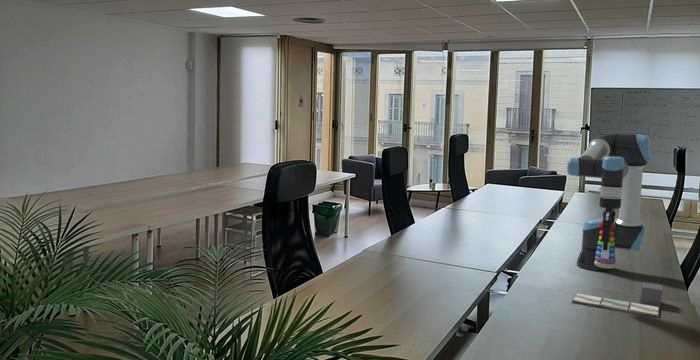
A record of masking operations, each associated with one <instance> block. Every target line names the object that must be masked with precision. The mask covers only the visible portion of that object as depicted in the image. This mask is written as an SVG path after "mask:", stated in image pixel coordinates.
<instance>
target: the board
mask: <svg viewBox="0 0 700 360" xmlns="http://www.w3.org/2000/svg"><path fill="white" fill-rule="evenodd" d="M571 301H572V302H571V303H572V304H578V305H584V306H589V307H593V308H600V309H607V310H612V311H618V312H623V313H629V314H634V313H635V315H640V314H641V316H646V315H647V316H648V317H653V318H657V319H659V318H660V307H656V306H650V305H644V304H640V303H636V302H632V301H631V302H630V301H624V300H618V299H614V298H607V297H600V296H594V295H588V294H582V293H575V295H574V297H573V299H572V300H571Z"/></svg>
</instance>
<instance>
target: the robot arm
mask: <svg viewBox="0 0 700 360" xmlns="http://www.w3.org/2000/svg"><path fill="white" fill-rule="evenodd" d="M651 160H652V142H651V139H650V136H649V135H647V134H641V133H640V134H639V133H613V132H611V133H607V134H604V135H600V136H597V137H595V138H594V139H592V140H590V142H589V143H588V145H587V148H586V150H585V151H584V152H583V153H582V154H581V155H580V156H579V157H576V156H574V157H569V159H568V161H567V167H566V169H567V174H568V176H571V177H572V176H574V177H580V178H581V177H583V178H596V179H597V178H598V179H601V180H600V181H601V183H600V187H599V188H598V190H599V191H600V197H599V207H600V208H603V209H604V210H605V211H604V212H603V214H602V217H603V218H589V219H586V220H585V221H584V222H583V228H582V239H581V240H582V243H581V249H580V250H581V251H580V252H579V254H578V257H577V260H576V266H577V267H578V268H581V269H583V270H588V271H596V272H602V271H603V272H605V271H609V270H611V269H612V268H601V267H598V266H596V265H595V264H594V261H595V256H596V251H597V246H598V241H599V236H601V235H600V231H601V230H602V229H601V227H600V222H601V220H603V231H602V239H600V241H602V248H601V258H605V259H609V248H610V242H609V241H610V232H611V231H613V232H614V235H613V236H612V237H614V241H613V242H614V244H615V245H614V246H613V247H615V249H617V250H618V249H619V250H625V251H632V252H637V251H641V249H642V247H643V244H644V241H645V236H646V232H647V227H646V226H643V225H644V224H643V221H642V220H641V219H640V218H641V217H640V212H641V199H642V187H643V185H642V184H643V170H644V169H645V167H647V166H648V163H649V162H651ZM615 210H618V217H617V218H616V211H615ZM613 222H614V228H613V229H612V230H611V225H612V224H613Z"/></svg>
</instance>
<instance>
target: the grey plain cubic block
mask: <svg viewBox="0 0 700 360" xmlns="http://www.w3.org/2000/svg"><path fill="white" fill-rule="evenodd" d="M640 293H641V295H640V303H639V304H646V305H652V306H658V307H659V308H661V307H662V298H663V297H662V295H663V284H656V283H649V282H642V284H641V291H640Z"/></svg>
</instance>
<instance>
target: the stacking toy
mask: <svg viewBox="0 0 700 360" xmlns="http://www.w3.org/2000/svg"><path fill="white" fill-rule="evenodd" d="M614 223H615V221H614V222H613V224H612V225H611V230H612V229H613V228H614ZM600 227H601V229H602V230H601V231H600V235H601V236H599V241H598V246H597V251H596V256H595V261H594V264H595V265H596V266H598V267H601V268H611V269H615V268H616V267H617V262H616V261H617V257H616V255H617V254H616V252H615V251H616V248H615V247H613V246H614V245H615V244H614V242H613V241H614V237H612V236H613V235H614V232H613V231H611V232H610V241H609V242H610V248H609V259H605V258H601V248H602V241H600V239H602V231H603V220H601V222H600Z"/></svg>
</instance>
